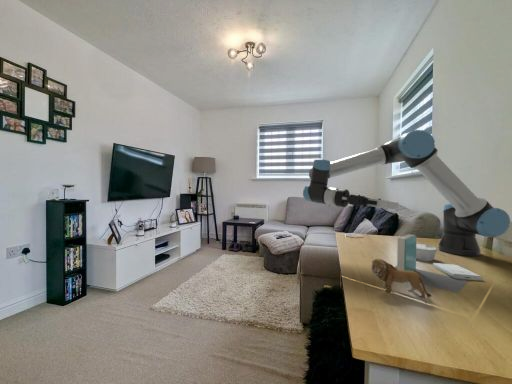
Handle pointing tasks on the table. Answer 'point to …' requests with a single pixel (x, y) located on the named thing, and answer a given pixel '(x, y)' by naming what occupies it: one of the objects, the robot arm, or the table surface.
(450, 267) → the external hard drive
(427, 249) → the ramekin
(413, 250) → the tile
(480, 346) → the table surface
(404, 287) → the table surface
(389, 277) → the lion figurine
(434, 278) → the mat
